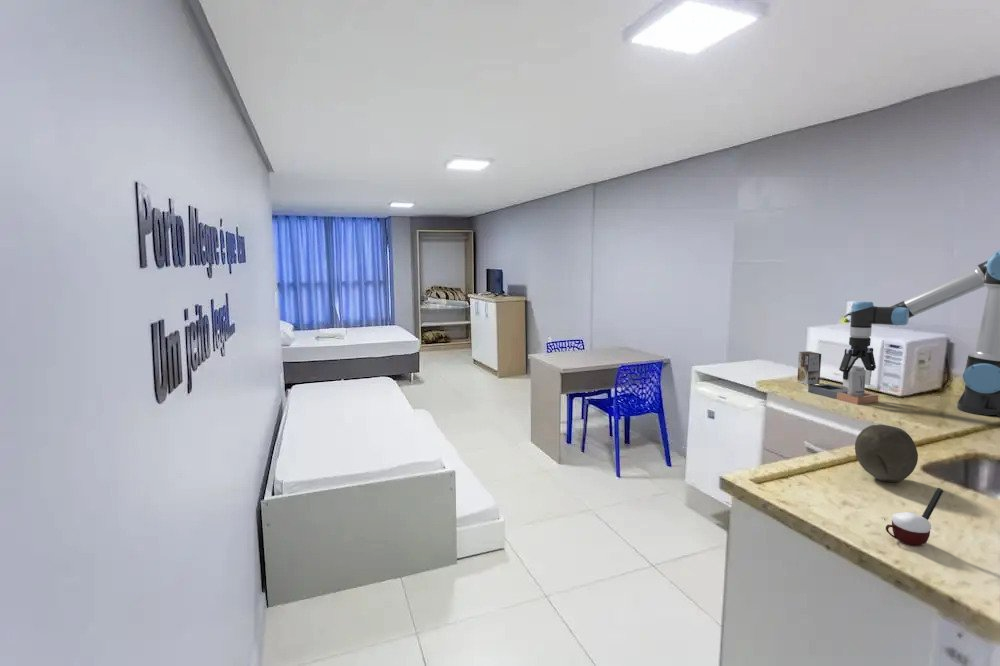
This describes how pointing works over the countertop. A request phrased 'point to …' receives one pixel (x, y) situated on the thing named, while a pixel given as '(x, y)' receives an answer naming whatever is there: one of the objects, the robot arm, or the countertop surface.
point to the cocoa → (914, 524)
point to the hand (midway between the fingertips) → (856, 385)
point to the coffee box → (809, 367)
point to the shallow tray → (841, 394)
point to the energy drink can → (857, 381)
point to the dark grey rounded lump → (886, 452)
